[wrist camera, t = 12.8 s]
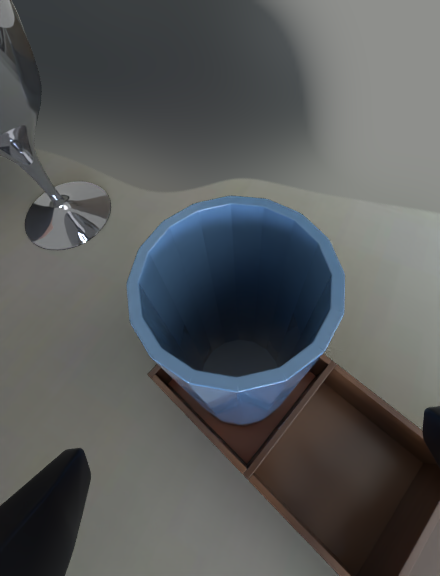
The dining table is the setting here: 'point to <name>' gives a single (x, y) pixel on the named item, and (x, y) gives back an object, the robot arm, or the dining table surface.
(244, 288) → the tumbler
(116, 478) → the dining table surface
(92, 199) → the wine glass
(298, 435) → the caddy
